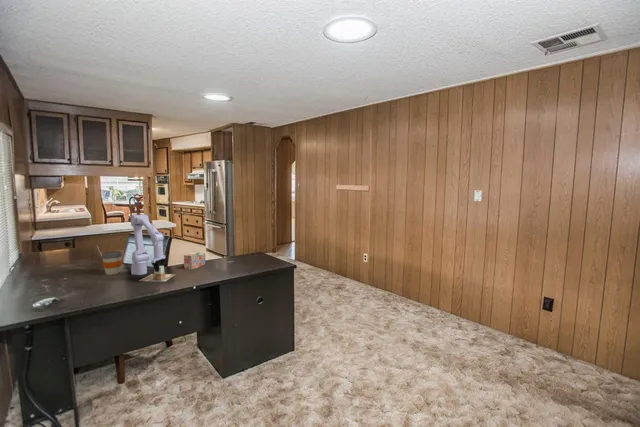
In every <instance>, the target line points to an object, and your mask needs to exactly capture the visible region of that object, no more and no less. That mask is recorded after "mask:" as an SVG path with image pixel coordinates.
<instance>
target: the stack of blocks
mask: <svg viewBox="0 0 640 427" xmlns="http://www.w3.org/2000/svg"><path fill="white" fill-rule="evenodd" d="M183 264H184V265H183V266H184V267H183V269H184V270H194V269H198V268H200V267H202V266H204V265H205V264H206V253H205V252H200V251H190V252H187V253H185V254H184V255H183Z"/></svg>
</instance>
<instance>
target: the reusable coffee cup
mask: <svg viewBox="0 0 640 427" xmlns="http://www.w3.org/2000/svg"><path fill="white" fill-rule="evenodd" d="M122 256H123V254H122V251H119V250H114V251H113V250H112V251H106V252H103V253H102V254H101V259H102V266H103V268H104V271H105V272H104V273H105V275H108V276H110V275H112V274H113V275H117V273H118V274H119V272H120V273H121V268H122V267H121V266H122V263H123V262H122V261H123V260H122Z"/></svg>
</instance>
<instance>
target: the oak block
mask: <svg viewBox="0 0 640 427" xmlns="http://www.w3.org/2000/svg"><path fill="white" fill-rule="evenodd" d="M152 274H153V280H159V281H158V282H162V281H161V280H163V279H165V274H166V272H165V271H164V272H163V273H161V274H154V273H152Z"/></svg>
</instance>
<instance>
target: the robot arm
mask: <svg viewBox="0 0 640 427" xmlns="http://www.w3.org/2000/svg"><path fill="white" fill-rule="evenodd" d="M130 226H131V227H132V229H133V234H134V235H133V237H134V243H135V245H134V246H135V250H134V251H133V252H132V253H131V255H132V256H131V261H132V263H131V268H130V271H131V275H137V276H141V275H142V276H144V275H146V274H147V273H148V265H147V263H148V261H149V260H150V254H149V251H148V250H147V249H145V246H144V239H143V238H144V237H143V230H142V229H143V227H144V228H145V229H146V232H147V233H148V235H149V236H150V239H151V242H152V243H151V244H152V246H153V248H152V249H153V258H152V259H151V262H150V264H151V265H152V266H153V270H154V269H155V272H159V266H164V267H165V262H166V261H167V259H166V254H164V241H165V234H164V233H163V232H159V230H158V229H157V228H156V227H155V226H153V225H152V224H151V222H150V220H149V216H148V214H146V213H144V214H143V213H142V214H133V215H131V217H130Z"/></svg>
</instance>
